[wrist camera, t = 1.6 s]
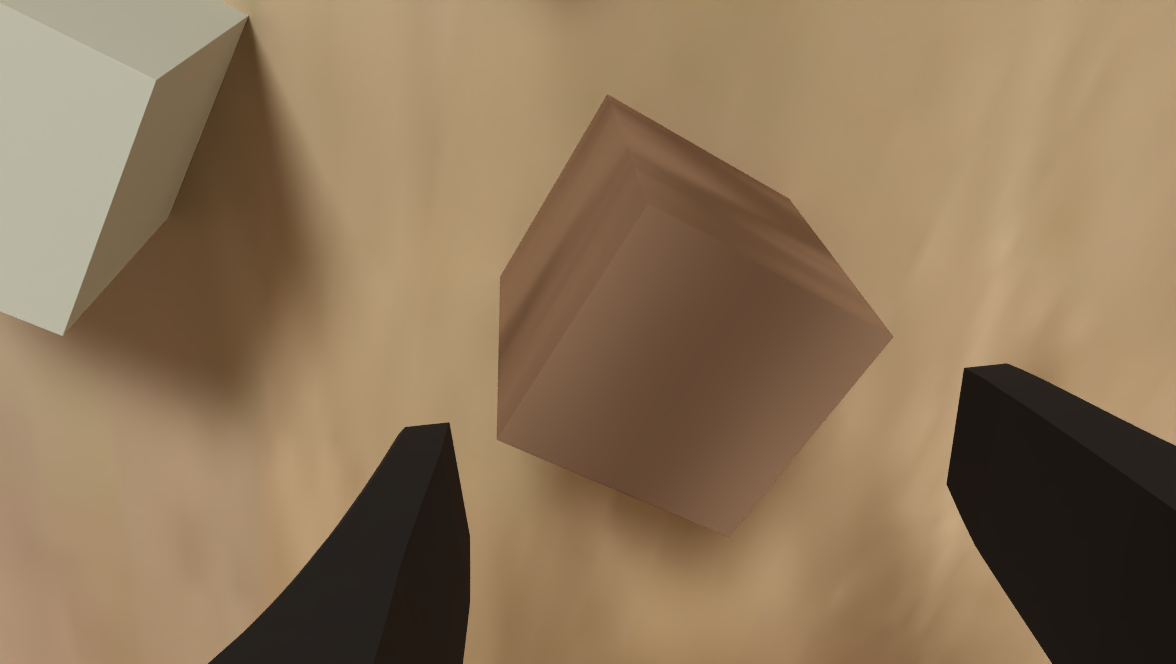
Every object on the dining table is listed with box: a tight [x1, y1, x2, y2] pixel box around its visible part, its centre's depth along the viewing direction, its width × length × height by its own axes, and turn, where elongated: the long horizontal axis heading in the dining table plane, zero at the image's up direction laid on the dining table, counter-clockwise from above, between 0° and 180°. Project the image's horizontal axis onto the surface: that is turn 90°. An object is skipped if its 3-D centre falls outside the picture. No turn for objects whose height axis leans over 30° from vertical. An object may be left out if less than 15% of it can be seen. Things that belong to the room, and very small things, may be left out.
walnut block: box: [497, 94, 893, 537], centre depth 17 cm, size 4×4×6 cm
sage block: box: [0, 0, 248, 336], centre depth 15 cm, size 4×4×5 cm
